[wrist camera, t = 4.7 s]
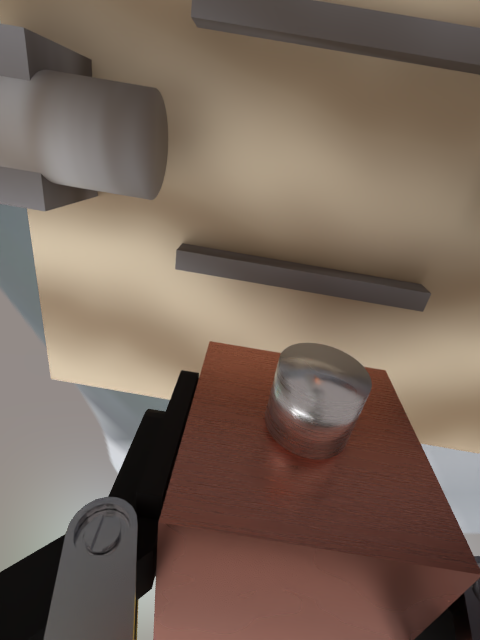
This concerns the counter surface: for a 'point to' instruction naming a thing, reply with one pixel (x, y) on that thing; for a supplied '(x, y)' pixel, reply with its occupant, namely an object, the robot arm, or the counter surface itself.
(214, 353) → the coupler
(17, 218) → the counter surface
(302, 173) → the jig
